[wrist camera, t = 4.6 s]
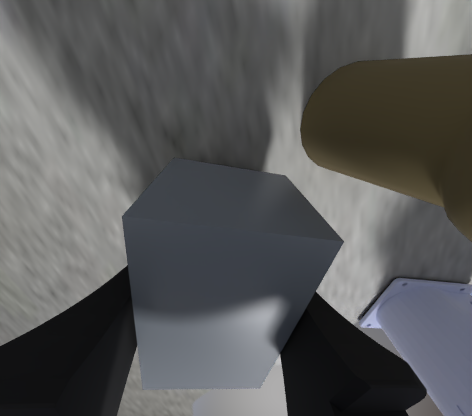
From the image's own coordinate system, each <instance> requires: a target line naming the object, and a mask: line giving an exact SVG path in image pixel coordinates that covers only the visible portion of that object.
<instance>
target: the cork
mask: <svg viewBox="0 0 472 416" xmlns="http://www.w3.org/2000/svg"><path fill="white" fill-rule="evenodd" d="M300 131H301V139H302V145H303V147H304V149H305V152H306V154H307V156H308V157H309V158H310V159H311V160H312V161H313V162H314V163H316V164H317V165H318V166H321V167H324V168H327V169H329V170H332V171H335V172H338V173H341V174H344V175H347V176H350V177H354V178H357V179H360V180H363V181H366V182H369V183H372V184H375V185H378V186H381V187H384V188H387V189H390V190H393V191H396V192H399V193H402V194H405V195H408V196H411V197H414V198H417V199H420V200H423V201H426V202H429V203H432V204H435V205H438V206H441V207H444V208H445V211H446V214H447V217H448V218H449V220H450V221H451V222H452V223H453V224H454V225H455V227H456V228H457V229H458V230H459V231H460V232H461V233H462V234H463V235H464V236H465V237H467V238H468V239H469V240H470V241H471V242H472V54H471V55H454V56H438V57H422V58H406V59H390V60H373V61H358V62H355V63H352V64H349V65H346V66H343V67H340V68H339V69H338V70H336V71H335V72H333V73H332V74H331V75H329V76H328V77H327V78H325V79H324V80H323V81H322V83H321V84H320V85H319V86H318V88H317V89H316V90H315V91H314V93H313V94H312V95H311V97H310V99H309V101H308V104H307V106H306V108H305V110H304V112H303V118H302V123H301V129H300Z"/></svg>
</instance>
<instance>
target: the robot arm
mask: <svg viewBox="0 0 472 416" xmlns="http://www.w3.org/2000/svg"><path fill="white" fill-rule="evenodd" d="M471 292H472V285H470V284H460V283H449V282H439V281H428V280H417V279H406V278H397V279H395V280H394V281H393V282H392V283H391V284H390V285H389V286H388V288H387V289H386V290H385V291H384V292H383V294H382V295H381V296H380V297H379V299H378V300H377V301H376V302H375V303H374V305H373V306H372V307H371V308H370V309H369V311H368V312H367V313H366V314H365V315H364V317H363V318H362V319H361V320H360V321H359V325H360V326H361V327H366V328H382V329H383V331H384V332H385V333H386V335H387V336H388V338H389V339H390V340H391V342H392V343H393V345H394V346H395V347H396V349H397V350H398V352H399V353H400V354H401V356H402V357H403V358H404V360H405V361H404V360H403V359H401V358H400V357H398V356H397V355H395V354H394V353H392V352H390V351H389V350H387V349H386V348H384V347H383V346H381V345H380V344H378V343H377V342H376V341H374V340H373V339H371V338H370V337H368V336H367V335H366V334H364V333H363V332H362V331H360V330H359V329H358V328H356V327H355V326H354V325H353V324H351V323H350V322H349V321H348V320H347V319H345V318H344V317H343V316H342V315H340V314H339V313H338V312H337V311H336V310H335V309H334V308H332V307H331V306H330V305H329V304H328V303H327V302H326V301H325V300H324V299H323V298H322V297H321V296H320V295H319V294H318V293H317V292H315V293H314V295H313V297H312V298H311V300H310V302H309V304H308V305H307V307H306V309H305V311H304V312H303V314H302V316H301V318H300V319H299V321H298V323H297V325H296V326H295V328H294V330H293V332H292V333H291V335H290V337H289V339H288V340H287V342H286V344H285V346H284V347H283V349H282V351H281V353H280V356H281V363H282V369H283V376H284V385H285V394H286V402H287V412H288V416H408V414H407V412H406V411H405V410H407V409H408V408H410V407H411V406H413V405H415V404H416V403H418V402H420V401H421V400H422V399H424V398H425V396H426V394H427V393H428V394H429V395H430V397H431V398H432V400H433V401H434V403H435V404H436V405H437V407H438V408H439V410H440V411H441V413H442V414H443V415H444V416H472V296H471V295H470V293H471ZM136 347H137V337H136V329H135V321H134V312H133V304H132V296H131V287H130V279H129V271H128V265H127V266H126V267H125V268H124V269H123V270H121V271H120V272H119V273H118V274H117V275H115V276H114V277H113V278H112V279H110V280H109V281H108V282H107V283H105V284H104V285H103V286H101V287H100V288H98V289H97V290H96V291H94V292H93V293H91V294H90V295H89V296H87V297H86V298H84V299H83V300H81V301H79V302H78V303H76V304H75V305H73V306H72V307H70V308H69V309H67V310H65V311H64V312H62V313H60V314H59V315H57V316H55V317H54V318H52V319H50V320H48V321H47V322H45V323H43V324H42V325H40V326H38V327H36V328H34V329H33V330H31V331H29V332H27V333H25V334H23V335H21V336H19V337H17V338H16V339H14V340H12V341H10V342H8V343H6V344H4V345H2V346H0V416H117V413H118V409H119V405H120V402H121V398H122V395H123V391H124V388H125V384H126V381H127V377H128V374H129V371H130V367H131V364H132V361H133V357H134V354H135V351H136Z"/></svg>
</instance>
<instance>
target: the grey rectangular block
mask: <svg viewBox="0 0 472 416" xmlns="http://www.w3.org/2000/svg"><path fill="white" fill-rule="evenodd" d="M122 221H123V229H124V237H125V246H126V254H127V262H128V271H129V279H130V287H131V296H132V304H133V312H134V321H135V329H136V337H137V346H138V354H139V362H140V371H141V379H142V387H143V390H152V389H242V388H260V387H261V386H262V384H263V382H264V381H265V379H266V377H267V375H268V374H269V372H270V370H271V368H272V367H273V365H274V363H275V361H276V360H277V358H278V356H279V354H280V353H281V351H282V349H283V347H284V346H285V344H286V342H287V340H288V339H289V337H290V335H291V333H292V332H293V330H294V328H295V326H296V325H297V323H298V321H299V319H300V318H301V316H302V314H303V312H304V311H305V309H306V307H307V305H308V304H309V302H310V300H311V298H312V297H313V295H314V293H315V292H316V290H317V288H318V286H319V285H320V283H321V281H322V279H323V278H324V276H325V274H326V272H327V271H328V269H329V267H330V265H331V264H332V262H333V260H334V258H335V257H336V255H337V253H338V251H339V250H340V248H341V246H342V244H343V243H344V241H343V240H342V239H341V238H340V236H339V235H338V234H337V233H336V232H335V231H334V230H333V229H332V227H331V226H330V225H329V224H328V223H327V222H326V221H325V219H324V218H323V217H322V216H321V215H320V214H319V213H318V212H317V210H316V209H315V208H314V207H313V206H312V205H311V204H310V203H309V201H308V200H307V199H306V198H305V197H304V196H303V195H302V193H301V192H300V191H299V190H298V189H297V188H296V187H295V186H294V184H293V183H292V182H291V181H290V180H289V179H288V178H287V177H286V176H285V175H279V174H273V173H267V172H260V171H254V170H248V169H242V168H236V167H229V166H223V165H217V164H211V163H205V162H198V161H192V160H186V159H180V158H173V159H172V161H171V162H170V163H169V164H168V165H167V166H166V167H165V168H164V170H163V171H162V172H161V173H160V174H159V175H158V176H157V177H156V179H155V180H154V181H153V182H152V183H151V184H150V185H149V187H148V188H147V189H146V190H145V191H144V192H143V193H142V194H141V196H140V197H139V198H138V199H137V200H136V201H135V202H134V203H133V205H132V206H131V207H130V208H129V209H128V210H127V211H126V212H125V214H124V215H123V216H122Z"/></svg>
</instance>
